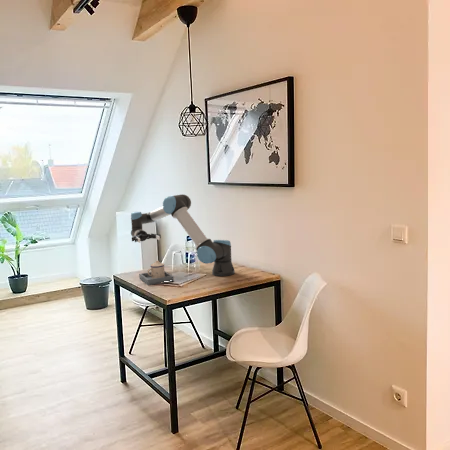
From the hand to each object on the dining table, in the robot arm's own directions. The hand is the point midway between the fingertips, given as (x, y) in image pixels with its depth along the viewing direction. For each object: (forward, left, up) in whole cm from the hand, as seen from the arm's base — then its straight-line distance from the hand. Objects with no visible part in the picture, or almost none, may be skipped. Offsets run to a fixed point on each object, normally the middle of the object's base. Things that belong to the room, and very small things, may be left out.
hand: (149, 239), depth 317 cm
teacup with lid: (0, +10, -25) cm, 27 cm away
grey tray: (0, +10, -26) cm, 28 cm away
